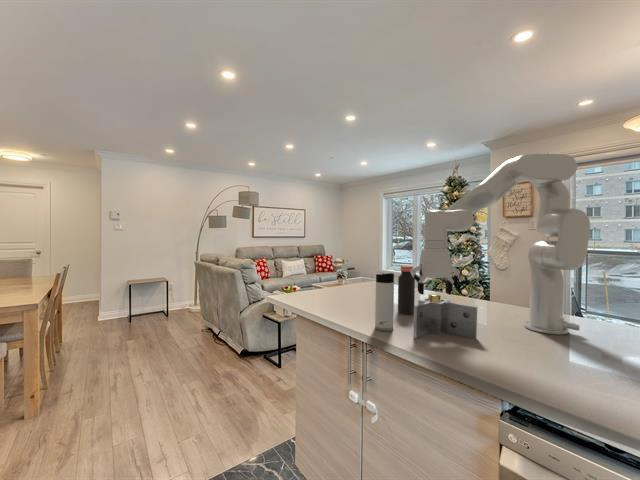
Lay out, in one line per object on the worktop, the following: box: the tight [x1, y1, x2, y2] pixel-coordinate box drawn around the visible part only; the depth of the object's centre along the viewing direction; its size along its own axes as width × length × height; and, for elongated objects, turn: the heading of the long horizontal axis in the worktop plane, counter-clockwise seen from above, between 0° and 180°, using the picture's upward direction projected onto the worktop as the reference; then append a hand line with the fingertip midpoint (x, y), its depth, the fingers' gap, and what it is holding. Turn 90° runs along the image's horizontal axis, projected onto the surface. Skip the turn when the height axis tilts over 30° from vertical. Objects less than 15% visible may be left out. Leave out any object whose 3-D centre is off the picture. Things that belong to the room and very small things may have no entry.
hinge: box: [412, 296, 478, 340], centre depth 100 cm, size 18×18×10 cm
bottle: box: [397, 264, 416, 316], centre depth 129 cm, size 7×7×20 cm
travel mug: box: [374, 272, 395, 333], centre depth 106 cm, size 6×7×20 cm
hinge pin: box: [427, 293, 442, 303], centre depth 107 cm, size 4×4×12 cm
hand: (434, 293), depth 107 cm, fingers open, 9 cm apart
